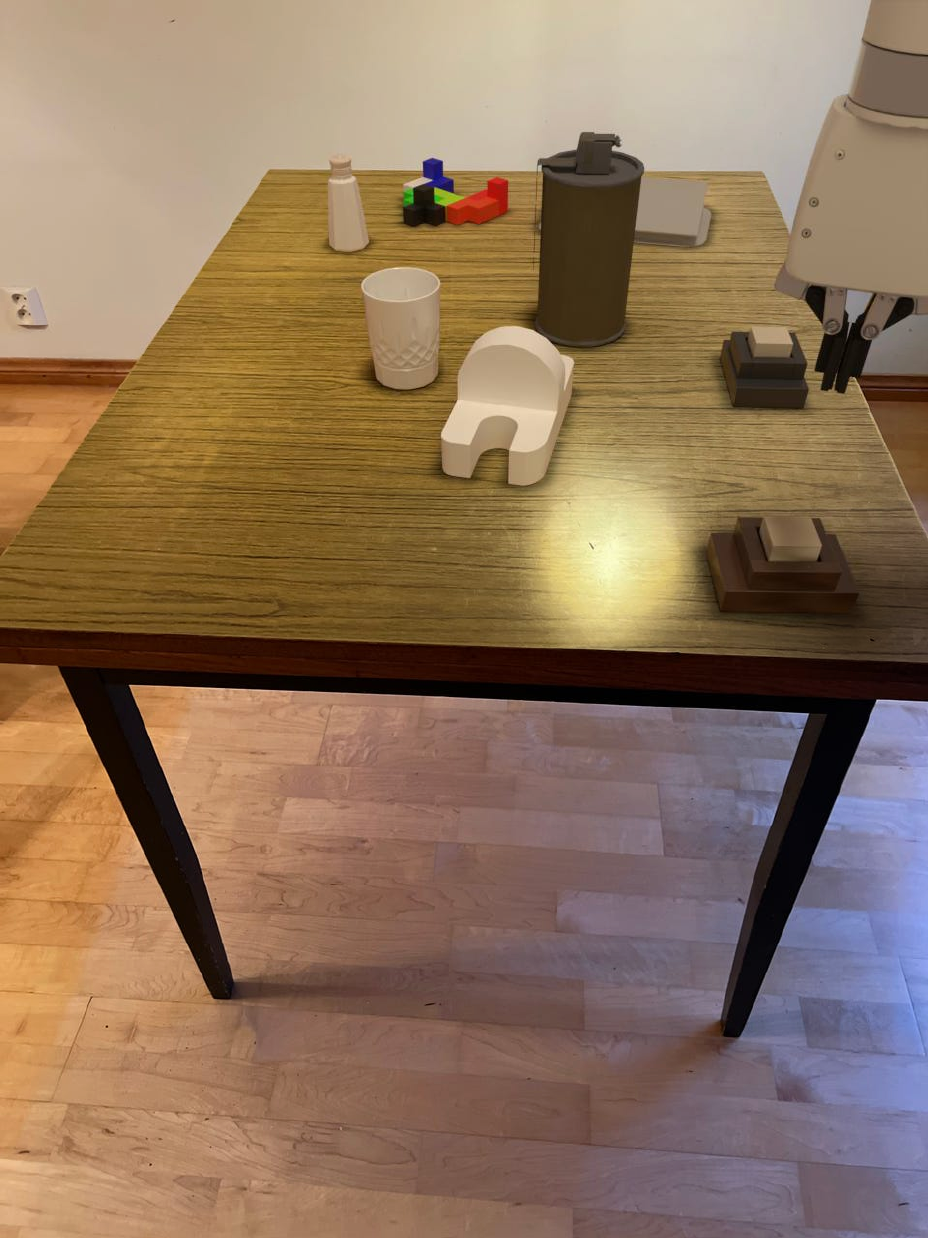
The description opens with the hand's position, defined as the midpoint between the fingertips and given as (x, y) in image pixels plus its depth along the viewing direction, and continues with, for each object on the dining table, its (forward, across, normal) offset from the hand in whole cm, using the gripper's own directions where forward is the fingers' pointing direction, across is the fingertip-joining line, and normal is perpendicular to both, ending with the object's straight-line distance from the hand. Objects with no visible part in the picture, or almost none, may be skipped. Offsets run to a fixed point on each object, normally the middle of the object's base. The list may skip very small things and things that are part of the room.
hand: (834, 382), depth 61 cm
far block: (+16, +6, -28) cm, 33 cm away
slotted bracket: (+16, +27, -11) cm, 34 cm away
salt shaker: (+15, +63, -47) cm, 80 cm away
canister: (+16, +27, -34) cm, 46 cm away
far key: (+12, +5, -28) cm, 31 cm away
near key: (+13, 0, +3) cm, 13 cm away
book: (+16, +29, -67) cm, 75 cm away
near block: (+16, 0, +3) cm, 16 cm away
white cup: (+16, +41, -17) cm, 47 cm away
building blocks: (+15, +56, -62) cm, 84 cm away
